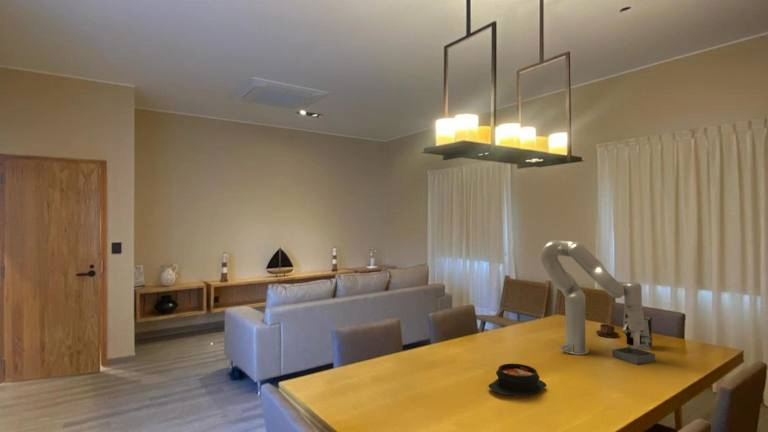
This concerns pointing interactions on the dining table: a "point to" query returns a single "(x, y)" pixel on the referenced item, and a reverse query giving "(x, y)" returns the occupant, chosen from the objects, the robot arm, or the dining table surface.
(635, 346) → the canister
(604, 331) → the cup and saucer
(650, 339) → the coffee box
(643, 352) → the bin
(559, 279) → the robot arm
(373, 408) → the dining table surface
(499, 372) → the casserole
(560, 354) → the dining table surface
